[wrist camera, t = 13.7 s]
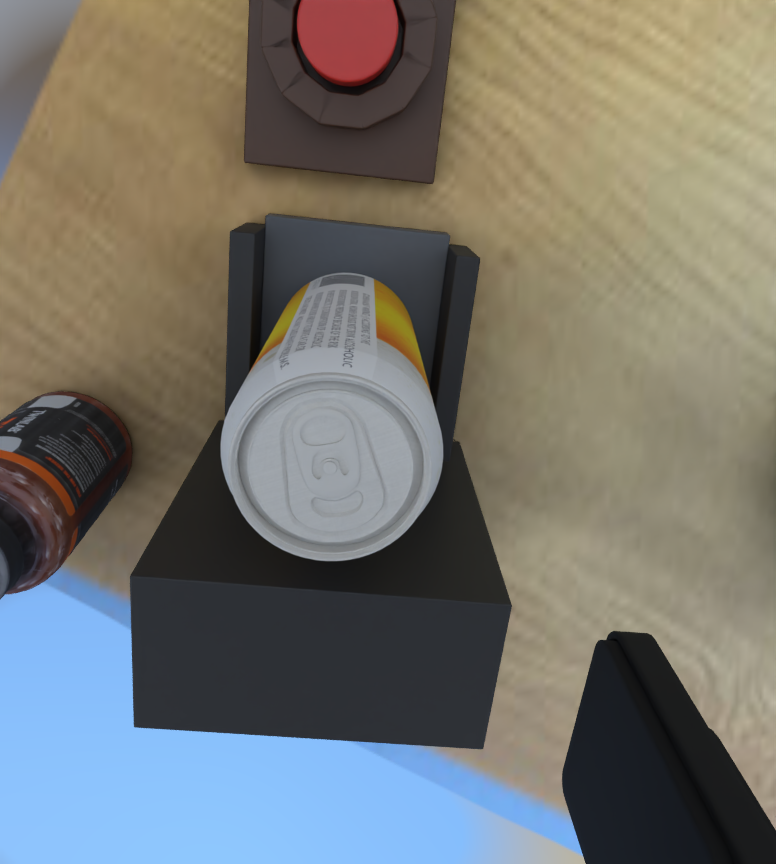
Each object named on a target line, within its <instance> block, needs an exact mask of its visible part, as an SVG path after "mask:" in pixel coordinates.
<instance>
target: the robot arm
mask: <svg viewBox="0 0 776 864" xmlns="http://www.w3.org/2000/svg"><path fill="white" fill-rule="evenodd" d="M562 786H563V793H564V797H565V800H566V803H567V806H568V810H569V813H570V816H571V819H572V822H573V825H574V828H575V832H576V835H577V838H578V841H579V844H580V847H581V850H582V853H583V857H584V860H585V863H586V864H776V830H775V829H774V827H773V825H772V824H771V822H770V820H769V819H768V817H767V815H766V814H765V812H764V811H763V809H762V807H761V806H760V804H759V802H758V801H757V799H756V798H755V796H754V794H753V793H752V791H751V789H750V788H749V786H748V785H747V783H746V781H745V780H744V778H743V776H742V775H741V773H740V771H739V770H738V768H737V767H736V765H735V763H734V762H733V760H732V758H731V757H730V755H729V754H728V752H727V750H726V749H725V747H724V745H723V744H722V742H721V741H720V739H719V738H718V736H717V735H716V734H715V733H714V731H713V730H711V729H710V728H708V726H707V724H706V723H705V721H704V719H703V718H702V716H701V714H700V713H699V711H698V709H697V708H696V706H695V705H694V703H693V701H692V700H691V698H690V696H689V695H688V693H687V691H686V690H685V688H684V686H683V685H682V683H681V681H680V680H679V678H678V677H677V675H676V673H675V672H674V670H673V668H672V667H671V665H670V663H669V662H668V660H667V658H666V657H665V655H664V653H663V652H662V650H661V648H660V647H659V645H658V644H657V642H656V640H655V639H654V638H653V636H652V635H650V634H648V633H635V632H620V631H613V632H611V633H610V634H609V635H608V637H607V640H599V641H598V642H597V644H596V646H595V649H594V653H593V657H592V661H591V665H590V668H589V672H588V676H587V680H586V684H585V688H584V691H583V695H582V699H581V703H580V707H579V710H578V714H577V718H576V722H575V726H574V730H573V733H572V737H571V741H570V745H569V749H568V752H567V756H566V760H565V764H564V768H563V774H562Z"/></svg>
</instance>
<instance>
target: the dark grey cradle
mask: <svg viewBox="0 0 776 864" xmlns="http://www.w3.org/2000/svg"><path fill="white" fill-rule="evenodd" d="M449 241H450V235H449V234H448V233H446V232H437V231H428V230H419V229H410V228H400V227H391V226H382V225H373V224H364V223H355V222H345V221H336V220H327V219H318V218H309V217H300V216H291V215H281V214H272V213H269V214H268V215H266V219H265V224H256V223H245V224H243V225H241V226H239V227H238V228H236V229H234V230H232V231H230V251H229V288H228V325H227V361H226V398H225V418H226V416H227V413H228V411H229V408H230V406H231V404H232V403H233V401H234V399H235V397H236V395H237V394H238V392H239V390H240V388H241V386H242V385H243V383H244V381H245V379H246V377H247V376H248V374H249V372H250V370H251V368H252V367H253V365H254V363H255V361H256V359H257V358H258V356H259V354H260V352H261V351H262V349H263V347H264V345H265V343H266V342H267V340H268V338H269V336H270V334H271V333H272V331H273V329H274V327H275V325H276V324H277V322H278V320H279V318H280V316H281V315H282V313H283V311H284V309H285V308H286V306H287V304H288V302H289V301H290V300H291V298H292V297H293V296H294V295H295V294H296V293H297V292H298V291H299V290H300V289H301V288H302V287H303V286H305V285H306V284H308V283H309V282H311V281H313V280H315V279H317V278H319V277H322V276H325V275H329V274H334V273H356V274H361V275H365V276H368V277H371V278H373V279H375V280H377V281H379V282H381V283H383V284H384V285H385V286H387V287H388V288H389V289H391V290H392V291H393V292H394V293H395V294H396V295H397V296H398V297H399V298H400V300H401V301H402V303H403V304H404V306H405V307H406V309H407V311H408V313H409V316H410V318H411V321H412V325H413V329H414V332H415V336H416V340H417V343H418V347H419V351H420V355H421V358H422V362H423V366H424V370H425V373H426V377H427V381H428V385H429V388H430V392H431V396H432V400H433V403H434V407H435V411H436V414H437V418H438V422H439V426H440V429H441V434H442V441H443V463H442V470H441V474H440V478H439V482H438V484H437V487H436V490H435V492H434V494H433V496H432V497H431V499H430V501H429V503H428V504H427V506H426V507H425V509H424V510H423V511H422V512H421V514H420V515H419V516H418V517H417V518H416V520H415V521H414V523H413V524H412V525H411V526H410V527H409V529H408V530H407V531H406V532H405V533H404V534H402V535H401V536H400V537H399V538H398V539H397V540H395V541H394V542H392V543H391V544H390V545H388V546H386V547H384V548H383V549H381V550H379V551H377V552H374V553H372V554H370V555H366V556H363V557H360V558H355V559H351V560H343V561H321V560H313V559H308V558H303V557H300V556H297V555H294V554H291V553H289V552H287V551H284V550H282V549H280V548H279V547H277V546H275V545H273V544H272V543H270V542H269V541H267V540H266V539H265V538H263V537H262V536H261V535H260V534H259V533H258V532H257V531H255V529H254V528H253V527H252V526H251V525H250V524H249V523H248V522H247V520H246V519H245V517H244V516H243V515H242V513H241V511H240V509H239V508H238V506H237V504H236V502H235V499H234V497H233V495H232V493H231V491H230V489H229V486H228V484H227V482H226V479H225V475H224V472H223V468H222V461H221V436H222V429H223V425H224V421H223V420H219V421H218V423H217V425H216V426H215V428H214V430H213V432H212V433H211V435H210V437H209V439H208V440H207V442H206V444H205V446H204V447H203V449H202V451H201V453H200V454H199V456H198V458H197V460H196V461H195V463H194V465H193V467H192V468H191V470H190V472H189V474H188V475H187V477H186V479H185V481H184V482H183V484H182V486H181V488H180V490H179V491H178V493H177V495H176V497H175V498H174V500H173V502H172V504H171V505H170V507H169V509H168V511H167V512H166V514H165V516H164V518H163V519H162V521H161V523H160V525H159V526H158V528H157V530H156V532H155V533H154V535H153V537H152V539H151V540H150V542H149V544H148V546H147V547H146V549H145V551H144V553H143V554H142V556H141V558H140V560H139V562H138V563H137V565H136V567H135V569H134V570H133V572H132V574H131V576H130V594H131V633H132V668H133V708H134V709H133V710H134V727H139V728H154V729H170V730H185V731H203V732H217V733H233V734H249V735H264V736H281V737H296V738H312V739H327V740H343V741H359V742H375V743H390V744H406V745H422V746H438V747H454V748H469V749H483V747H484V742H485V737H486V732H487V727H488V722H489V717H490V712H491V707H492V702H493V697H494V692H495V687H496V682H497V677H498V672H499V667H500V662H501V657H502V652H503V647H504V642H505V637H506V632H507V627H508V622H509V617H510V612H511V607H512V605H511V602H510V598H509V595H508V592H507V589H506V586H505V583H504V580H503V577H502V574H501V570H500V567H499V564H498V561H497V558H496V555H495V552H494V549H493V545H492V542H491V539H490V536H489V533H488V530H487V527H486V524H485V521H484V517H483V514H482V511H481V508H480V505H479V502H478V499H477V496H476V493H475V489H474V486H473V483H472V480H471V477H470V474H469V471H468V468H467V464H466V461H465V458H464V455H463V452H462V449H461V446H460V443H459V442H454V441H453V436H454V430H455V423H456V417H457V410H458V403H459V397H460V390H461V383H462V377H463V370H464V364H465V357H466V350H467V344H468V337H469V330H470V324H471V317H472V310H473V304H474V297H475V291H476V284H477V277H478V271H479V264H480V258H479V257H478V256H477V255H476V254H475V253H474V252H472V251H471V250H470V249H469V248H468V247H467V246H459V245H450V244H449Z"/></svg>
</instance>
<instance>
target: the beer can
mask: <svg viewBox="0 0 776 864" xmlns="http://www.w3.org/2000/svg"><path fill="white" fill-rule="evenodd" d="M221 461H222V468H223V472H224V475H225V479H226V482H227V484H228V486H229V489H230V491H231V493H232V495H233V497H234V499H235V502H236V504H237V506H238V508H239V509H240V511H241V513H242V515H243V516H244V517H245V519H246V520H247V522H248V523H249V524H250V525H251V526H252V527H253V528H254V529H255V531H257V532H258V533H259V534H260V535H261V536H262V537H263V538H265V539H266V540H267V541H269V542H270V543H272V544H273V545H275V546H277V547H279V548H280V549H282V550H284V551H287V552H289V553H291V554H294V555H297V556H300V557H303V558H308V559H313V560H321V561H343V560H351V559H355V558H360V557H363V556H366V555H370V554H372V553H374V552H377V551H379V550H381V549H383V548H384V547H386V546H388V545H390V544H391V543H392V542H394V541H395V540H397V539H398V538H399V537H400V536H401V535H402V534H404V533H405V532H406V531H407V530H408V529H409V527H410V526H411V525H412V524H413V523H414V521H415V520H416V518H417V517H418V516H419V515H420V514H421V512H422V511H423V510H424V509H425V507H426V506H427V504H428V503H429V501H430V499H431V497H432V496H433V494H434V492H435V490H436V487H437V484H438V482H439V478H440V474H441V470H442V463H443V441H442V434H441V429H440V426H439V422H438V418H437V414H436V411H435V407H434V403H433V400H432V396H431V392H430V388H429V385H428V381H427V377H426V373H425V370H424V366H423V362H422V358H421V355H420V351H419V347H418V343H417V340H416V336H415V332H414V329H413V325H412V321H411V318H410V316H409V313H408V311H407V309H406V307H405V306H404V304H403V303H402V301H401V300H400V298H399V297H398V296H397V295H396V294H395V293H394V292H393V291H392V290H391V289H389V288H388V287H387V286H385V285H384V284H383V283H381V282H379V281H377V280H375V279H373V278H371V277H368V276H365V275H361V274H356V273H334V274H329V275H325V276H322V277H319V278H317V279H315V280H313V281H311V282H309V283H308V284H306V285H305V286H303V287H302V288H301V289H300V290H299V291H298V292H297V293H296V294H295V295H294V296H293V297H292V298H291V300H290V301H289V302H288V304H287V306H286V308H285V309H284V311H283V313H282V315H281V316H280V318H279V320H278V322H277V324H276V325H275V327H274V329H273V331H272V333H271V334H270V336H269V338H268V340H267V342H266V343H265V345H264V347H263V349H262V351H261V352H260V354H259V356H258V358H257V359H256V361H255V363H254V365H253V367H252V368H251V370H250V372H249V374H248V376H247V377H246V379H245V381H244V383H243V385H242V386H241V388H240V390H239V392H238V394H237V395H236V397H235V399H234V401H233V403H232V404H231V406H230V408H229V411H228V413H227V416H226V418H225V421H224V425H223V429H222V436H221Z"/></svg>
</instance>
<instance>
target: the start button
mask: <svg viewBox="0 0 776 864" xmlns="http://www.w3.org/2000/svg"><path fill="white" fill-rule="evenodd" d="M297 32H298V38H299V42H300V45H301V47H302V50H303V52H304V54H305V56H306V58H307V59H308V61H309V62H310V64H311V65H312V67H313V68H314V69H315V70H316V72H317V73H319V74H320V75H321V76H322V77H323V78H325V79H326V80H328V81H330V82H332V83H334V84H337V85H341V86H349V87H352V86H359V85H363V84H366V83H368V82H370V81H372V80H373V79H375V78H376V77H377V76H379V75H380V74H381V73H382V72H383V71H384V69H385V68H386V67H387V65H388V64H389V62H390V60H391V58H392V56H393V53H394V50H395V46H396V42H397V37H398V16H397V10H396V7H395V4H394V1H393V0H301V2H300V5H299V9H298V15H297Z"/></svg>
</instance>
